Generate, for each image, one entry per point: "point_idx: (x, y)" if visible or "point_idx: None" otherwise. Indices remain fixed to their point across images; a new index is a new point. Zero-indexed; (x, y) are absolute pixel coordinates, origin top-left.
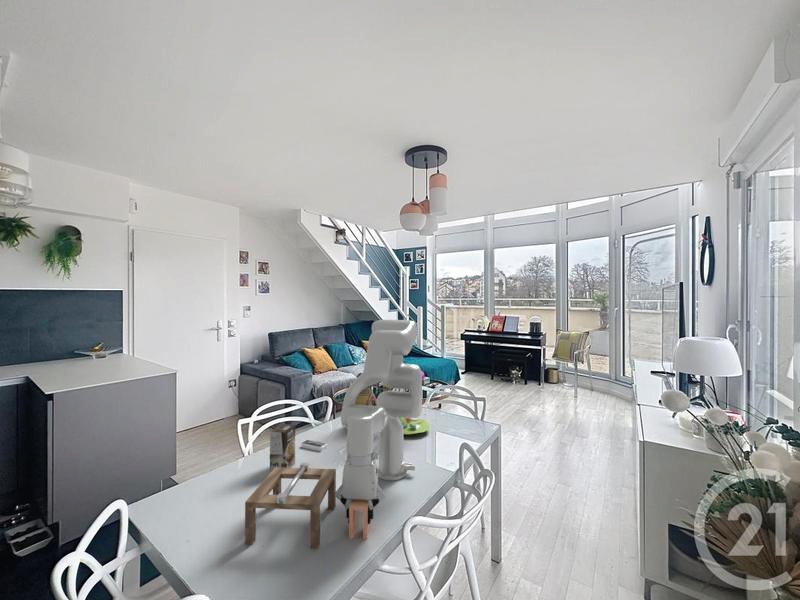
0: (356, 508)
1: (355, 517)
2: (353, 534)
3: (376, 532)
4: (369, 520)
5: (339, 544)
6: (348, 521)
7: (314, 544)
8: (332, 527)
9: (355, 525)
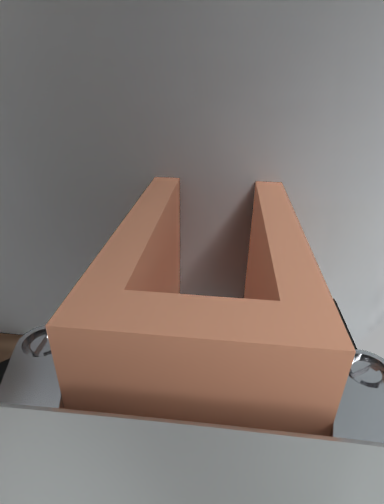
0: None
1: (166, 258)
2: (178, 285)
3: (328, 252)
4: None
5: None
6: None
7: None
8: (24, 205)
9: (176, 227)
